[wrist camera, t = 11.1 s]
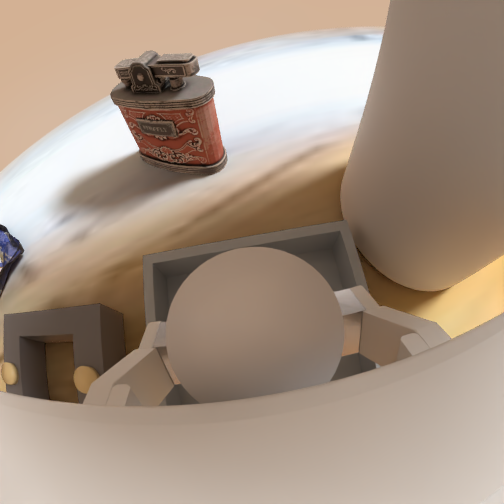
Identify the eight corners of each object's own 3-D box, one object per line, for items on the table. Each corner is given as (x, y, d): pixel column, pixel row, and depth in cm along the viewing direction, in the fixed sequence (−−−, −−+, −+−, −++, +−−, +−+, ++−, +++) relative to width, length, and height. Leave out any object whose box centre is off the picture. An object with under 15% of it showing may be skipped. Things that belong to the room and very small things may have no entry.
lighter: (135, 164, 22) (87, 75, 13) (153, 137, 24) (117, 49, 14) (218, 180, 21) (190, 68, 12) (233, 149, 22) (217, 42, 13)
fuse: (230, 393, 15) (179, 428, 6) (218, 318, 16) (159, 262, 8) (310, 379, 15) (359, 398, 6) (295, 304, 16) (320, 233, 8)
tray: (183, 451, 14) (168, 465, 11) (160, 272, 18) (142, 255, 16) (376, 417, 14) (396, 425, 11) (336, 241, 19) (346, 219, 16)
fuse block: (37, 428, 14) (7, 431, 10) (28, 322, 17) (-1, 312, 14) (139, 443, 14) (112, 456, 10) (122, 313, 17) (94, 300, 14)
